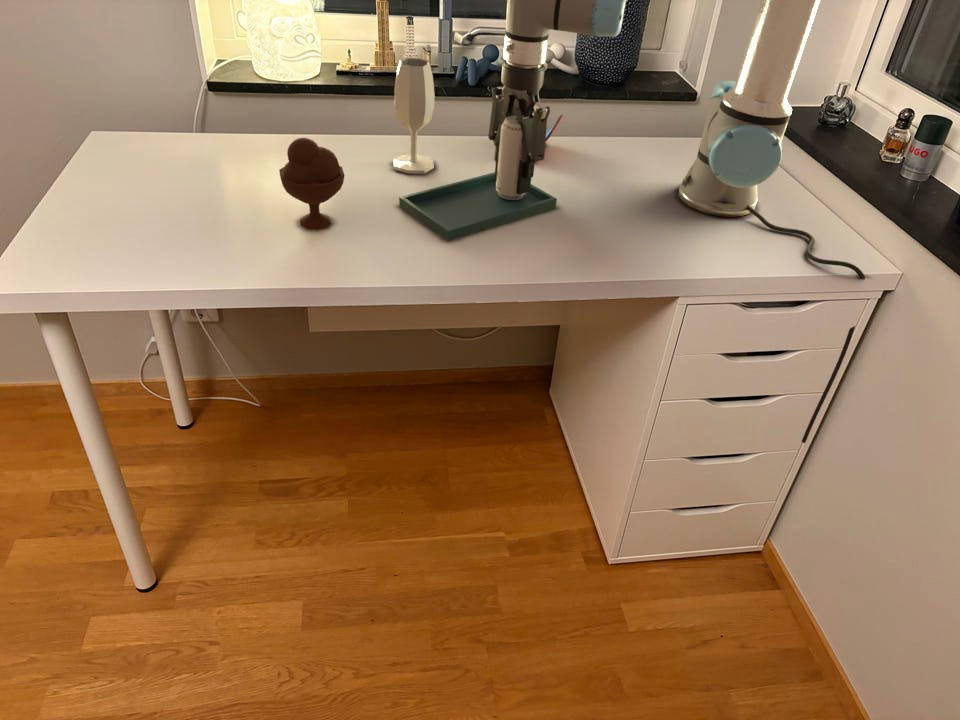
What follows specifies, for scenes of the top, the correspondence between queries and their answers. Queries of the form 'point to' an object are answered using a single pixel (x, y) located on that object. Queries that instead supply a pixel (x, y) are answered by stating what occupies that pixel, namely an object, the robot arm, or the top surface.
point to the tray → (472, 206)
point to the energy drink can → (509, 159)
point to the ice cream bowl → (311, 179)
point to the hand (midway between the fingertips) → (511, 185)
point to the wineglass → (414, 109)
